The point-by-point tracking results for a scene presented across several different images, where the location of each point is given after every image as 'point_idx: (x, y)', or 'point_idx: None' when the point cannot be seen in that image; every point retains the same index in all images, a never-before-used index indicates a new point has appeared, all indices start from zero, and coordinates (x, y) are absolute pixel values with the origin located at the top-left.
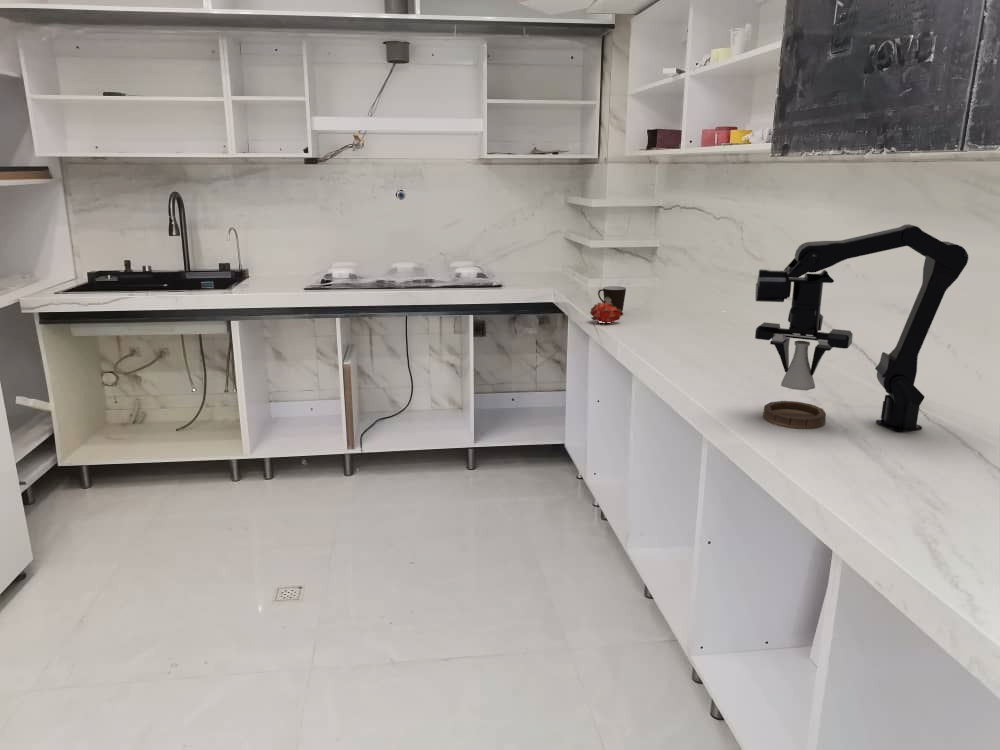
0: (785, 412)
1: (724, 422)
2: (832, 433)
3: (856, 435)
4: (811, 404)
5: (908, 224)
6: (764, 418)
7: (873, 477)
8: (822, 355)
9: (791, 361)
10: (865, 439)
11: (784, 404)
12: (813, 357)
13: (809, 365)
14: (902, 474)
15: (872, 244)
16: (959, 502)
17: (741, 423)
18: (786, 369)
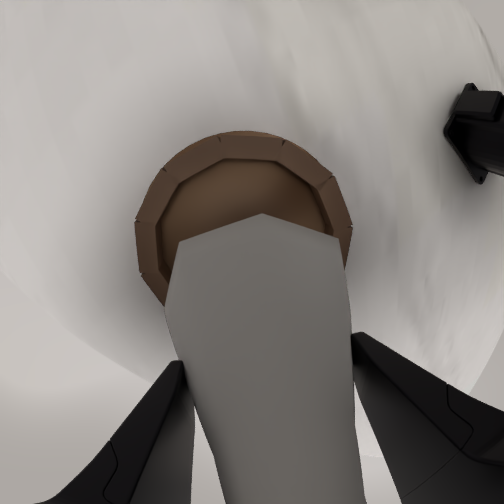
0: (203, 219)
1: (122, 366)
2: (367, 284)
3: (414, 259)
4: (278, 138)
5: None
6: None
7: None
8: (478, 412)
9: (205, 432)
10: (428, 272)
11: (178, 183)
12: (396, 485)
13: (353, 389)
14: (445, 365)
15: None
16: (468, 378)
17: (151, 354)
18: (191, 401)
